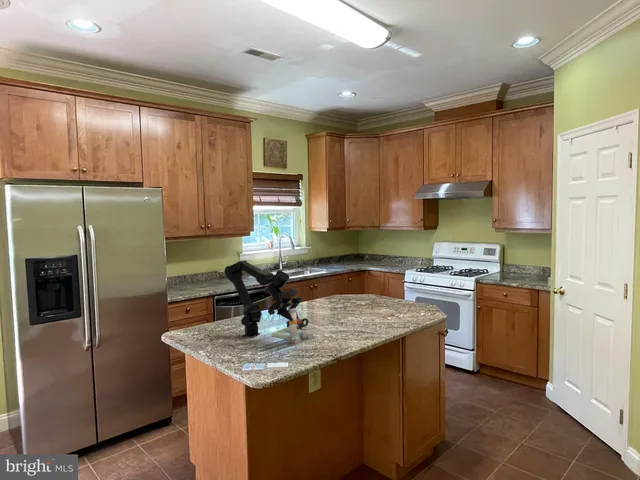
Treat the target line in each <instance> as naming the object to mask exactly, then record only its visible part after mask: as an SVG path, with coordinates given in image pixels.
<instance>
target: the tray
mask: <svg viewBox="0 0 640 480" xmlns="http://www.w3.org/2000/svg"><path fill="white" fill-rule="evenodd" d="M289 332H290V327H284V328H281V329H278V330H276V331H273V332H272V335H271V336H272V337H275V338H279V339H286V340H287V337H289V336H292V339H293V338H294V339H295V338H297V337H299V332H302V330H298V329H297V335H290V334H285V333H289Z"/></svg>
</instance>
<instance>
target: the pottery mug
mask: <svg viewBox="0 0 640 480" xmlns="http://www.w3.org/2000/svg"><path fill="white" fill-rule="evenodd" d="M304 322H305V323H304ZM309 322H310V321H309V319H308V318H307V317H304V318H300V317H299V316H298V319H297V326H298V327H297V329H298V330H302V327H308V325H309ZM286 328H290V327H289V320H287V321H286Z"/></svg>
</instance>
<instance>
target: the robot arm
mask: <svg viewBox="0 0 640 480" xmlns="http://www.w3.org/2000/svg"><path fill="white" fill-rule="evenodd" d="M223 272H224V275H225V276H226V278H227V280H229V281H230V282H231V283H232V284H233V286H234V288H235V291H236V292H237V294H238V297H239V299H240V301H241V304H242V307H243V317H242V318H241V319H240V323H241V325H242V326H244V334H242V336H244V337H247V336H248V338H254V337H256V336H258V335H259V336H260V335H261V333H260V332H259V326H258V323H260V322H261V319H262V315H263V314H262V309H261V307H260V305H259V304H258V303H254V302H253V300H252V298H251V296H250V294H249V291H248V289H247V287H246V285H245V283H244V280H243V272H244V273H246V274H248V275H249V276H251V277H253V278H254V279H255V280H256V282H257V283H258V284H259V285H260V286H265V287H264V294H267V293H268V294H269V295H270V296H271V298H272V299H271V301H272V303H271V305H270V306H269V308H268V309H267V313H268V314H269V316H272V315H275V314H276V315H277V316H281V317H283V318H284V319H287V321H289V320H290V321H292V320H293V319H292V317H291V315H290V313H289V309H290V308H296V309H297V307H298V306H299V305H300V304H301V303H302V301H303V299H302V298H301V297H300V296H296V294H297V293H298V292H297V289H296V288H295V287H291V288H289V290H284V291H283V290H282V288H284V286H285V285H286V284H287V282H288V281H289V280H290V275H289V274H288V273H287V272H286V271H283V270H281V269H278V270H277V271H276V273H275V274H274V273H273V272H271V271H268V270H262V269H260V268H258V267H257V266H255V265H252V264H251V263H250V262H248V261H247V260H239V261H236V262H235V263H232V264H230V265H227V266H226V267H225V268H224V271H223ZM295 296H296V297H295ZM276 312H277V313H276ZM298 317H299V316H298V312H297V310H296V319H298Z"/></svg>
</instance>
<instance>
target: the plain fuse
mask: <svg viewBox="0 0 640 480" xmlns="http://www.w3.org/2000/svg"><path fill="white" fill-rule="evenodd" d="M309 333H310V327H309V326H306V327H302V338H303V339H307V334H309Z"/></svg>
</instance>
